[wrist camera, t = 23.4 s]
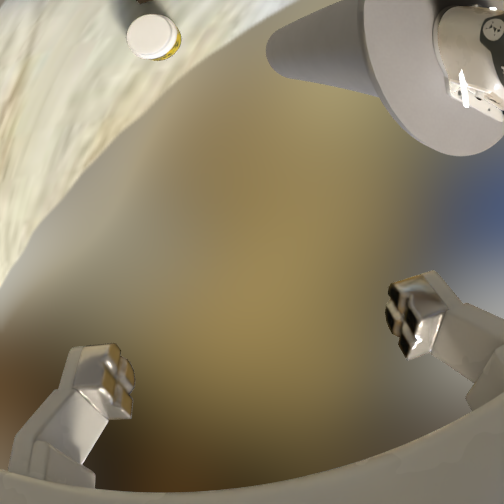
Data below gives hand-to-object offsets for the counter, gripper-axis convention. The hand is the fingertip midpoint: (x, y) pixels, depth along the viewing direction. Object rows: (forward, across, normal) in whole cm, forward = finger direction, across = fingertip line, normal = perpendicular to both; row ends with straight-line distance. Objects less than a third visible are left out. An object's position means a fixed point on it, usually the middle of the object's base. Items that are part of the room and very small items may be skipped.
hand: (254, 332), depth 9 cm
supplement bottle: (+31, +4, -12) cm, 34 cm away
